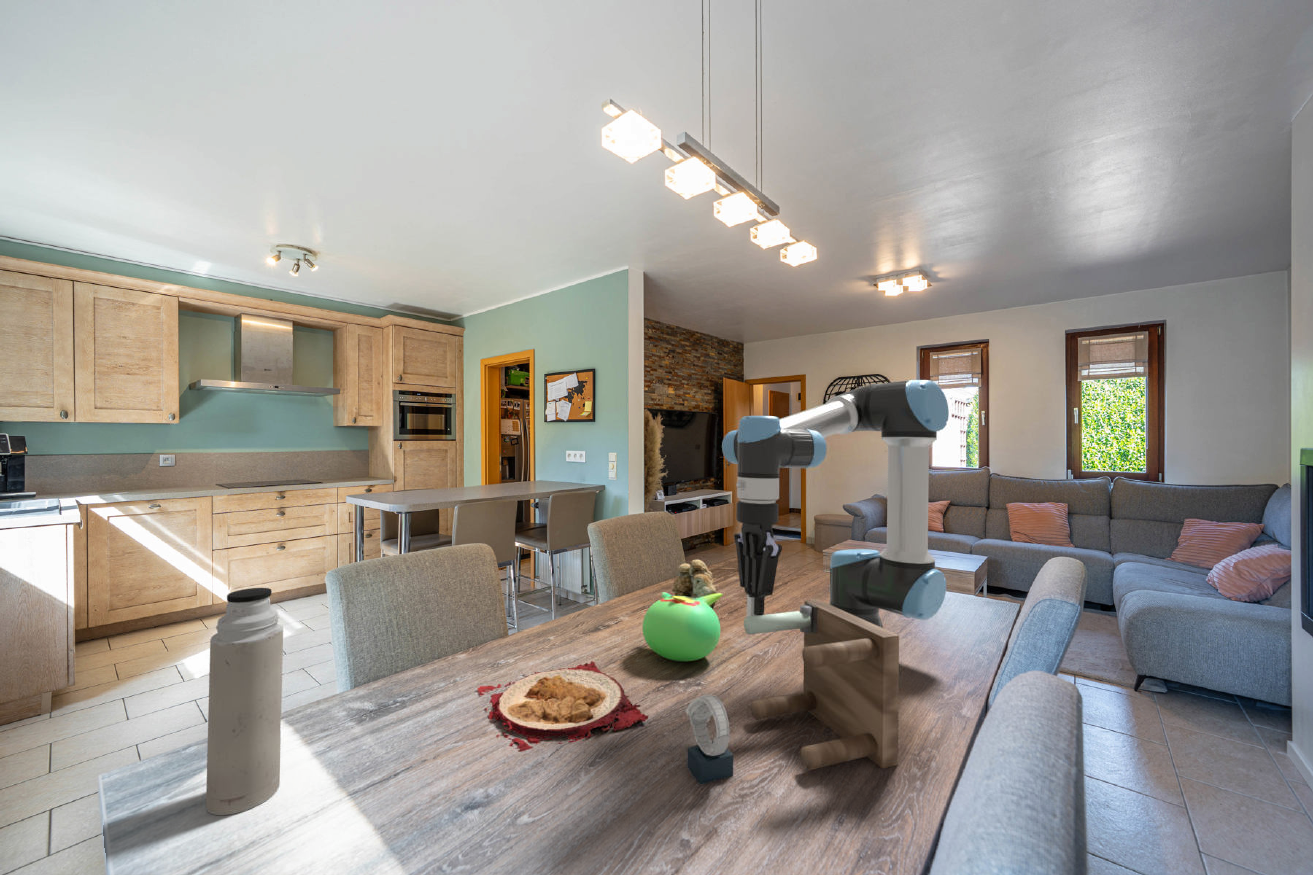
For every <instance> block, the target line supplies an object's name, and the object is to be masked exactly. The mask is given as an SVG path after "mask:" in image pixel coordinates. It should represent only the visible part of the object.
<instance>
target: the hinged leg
mask: <svg viewBox="0 0 1313 875" xmlns="http://www.w3.org/2000/svg"><path fill="white" fill-rule="evenodd" d="M811 617H812V607H810V606H807V605H800V606H799V610H796V611H787V612H776V613H770V614H764V615H757V616H748V617H747V616H745V617H744V619H743V627H744V631H745V632H746V634H747V635H750V636H751V635H759V634H765V633H772V632H773V633H774V632H784V631H790V630H799V632H800V633H803V634H804V633H811Z"/></svg>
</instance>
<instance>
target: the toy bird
mask: <svg viewBox="0 0 1313 875" xmlns="http://www.w3.org/2000/svg"><path fill="white" fill-rule="evenodd" d="M660 595H661V598H660V599H658V600H657V601H655V602H654V603H653V604H651V605H650V606H649V607H648V609H647V611H646V612H645V615H644V616H643V620H642V635H643V638H644V640H645V642H646V644H647V645H648V647H649V648H650V650H652V651H653V652H655V654H658V655H659V656H661V657H663V658H665V659H668V660H670V661H671V660H672V661H676V662H693V661H697V660H701V659H703V658H705V657H707V656H708V655H710V654H711V653H712V652H713V651H714V650H715V648H716V647H717V645H718V643H719V641H720V636H721V621H720V619H719V617H718V615H717V613H716V611H714V608H713V609H712V608H711V607H710V605H711V604H713V603H714V602H715V601H716V602H717V601H718V600H720V599H721V598H722V597H723V593H722V592H721V593H720V592H718V593H717V592H716V594H711V595H707V596H703V597H700V598H693V597H686V596H675V595H671V593H670V594H669V593H668V592H664V591H663V592H661V594H660ZM719 621H720V622H719Z"/></svg>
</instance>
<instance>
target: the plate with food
mask: <svg viewBox="0 0 1313 875" xmlns="http://www.w3.org/2000/svg"><path fill="white" fill-rule="evenodd" d="M616 679H617V678H616ZM616 679H615V678H614V677H612V676H610V675H608V674H606V673H604V672H602V671H601V670H600V669H599V668H598V667H597V666H596V663H595V661H590V663H588V662H586V663H584V664H582V663H581V664H579V665H577V666H574V667H568V668H564V667H563V668H556V669H555V670H554V669H551V670H550V671H549V670H548V671H545V670H544V671H542V672H541V671H540V672H539V671H537V672H536V671H535V672H534V674H533V673H531V675H526V676H525V677H522V678H520V679H519V680H517V681H513V682H511V681H509V683H506V684H505V685H503V684H500V683H498V684H497V685H496V686H493V685H492V684H491V685H490V684H489V685H481V686H478V687H477V692H478V694H479V697H482V696H486V695H485V693H488V695H490V697H491V699H490V701H489V702H488V703H489V704H491V709H493V710H492V711H491V710H490V711H489V715H488V719H489V720H491V723H494V722H496V721H497V722H498V721H500V720H501V721H502V722H503V723H502V726H506V727H504V731H506V730H508V732H511V731H512V732H514V733H517V735H523V736H524V737H525V738H526V741H527V742H526V741H524V740H523V739H520V738H518V737H514V738H510V735H512V733H509V734H506V732H503V733H502V735H503V737H502V738H506V739H507V740H510V741H512V742H510V743H509V745H508V747H511V748H513V746H514V744H515V743H517V744H519V745H518V746H517V747H516V748H515V747H514V749H515V750H517V752H518V753H522V752H525V751H529V750H532V749H533V748H534V746H533V745H532V746H530V744H534V745H538V744H540V743H541V741H548V740H550V741H552V738H553V737H555V739H557V737H566V739H568V743H569V744H570V743H575V742H578V741H581V740H583V739H584V738H586V739H585V741H586V740H588V739H590V738H591V737H592V736H594V733H592V732H591V730H592V729H595V728H597V729H595V731H599V730H598V727H601V731H603V732H606V731H607V730H609V729H610V728H611V726H612V730H613V731H614V732H616V731H621V730H624V729H625V728H630V727H631V726H632V725H634V724H636V723H637V722H642V723H643V722H644V723H645V721H646V720H648V718H649V715H646V714H645V713H642V712H641V710H640V709H639V708H641V707H642V706H641V705H640V704H633V703H632V701H630V699H629V698H630V697H629V695H626V694H625V689H624V688H623V686H622V685H621V684H620V682H618V681H617V680H616ZM508 686H509V687H508ZM502 687H504V688H506V687H508V688H506V689H505V690H504V692H499V693H496V691H498V690H499V689H501V688H502ZM491 691H493V693H494V694H491V693H490V692H491ZM484 709H485V712H486V713H487V712H488V708H487V707H485V708H484ZM493 719H495V720H496V721H494V720H493ZM617 719H618V720H617ZM495 734H497V733H496V732H495ZM514 736H516V734H514ZM498 737H499V738H500V734H497V735H496V738H497V739H499V738H498ZM550 737H551V738H550ZM557 744H559V745H560V744H561V745H563V742H560V741H559V742H557Z"/></svg>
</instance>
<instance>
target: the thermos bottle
mask: <svg viewBox="0 0 1313 875" xmlns="http://www.w3.org/2000/svg"><path fill="white" fill-rule="evenodd" d="M271 595H272V588H269V587H252V588H251V587H250V588H246V589H245V588H243V589H239V590H236V591H232V592H229V593H228V594H227V595H226V601H227V604H226V606H225V614H224V615H223V616H221V617H220V618H219V619H217V625H216V627H215V629H216V632H217V633H215V634H214V635H212V636H211V637H210V640H209V643H210V644H209V645H210V646H209V679H208V711H207V712H208V713H207V714H208V716H207V753H206V754H207V755H206V756H207V757H206V790H205V791H206V794H205V795H206V798H205V800H206V801H205V808H206V811H207V812H208V813H210V814H212V815H215V816H227V815H234V814H239V813H243V812H245V811H248V810H251V809H254V808H255V807H258V806H259V805H261V804H263V803H265V802H266V801H268V800H269V799H271V798H272V797H273V796H274V795H275V794H276V793H277V791H278V790H279V788H280V783H281V781H280V778H281V744H282V743H281V739H282V738H281V725H282V724H281V722H282V696H283V694H282V693H283V660H284V659H283V658H284V657H283V656H284V653H283V652H284V627H283V625H282V624H280V623H278V622H279V619H280V615H279V614H278V611H277V610H276V609H273V608H271V599H270V597H271Z"/></svg>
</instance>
